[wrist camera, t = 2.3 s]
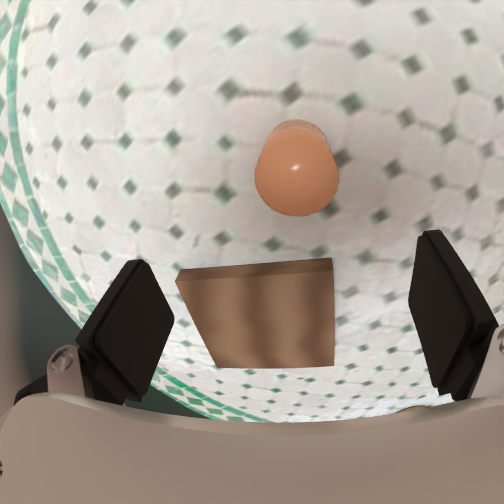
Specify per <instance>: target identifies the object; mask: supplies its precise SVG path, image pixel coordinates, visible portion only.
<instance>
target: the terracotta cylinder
mask: <svg viewBox="0 0 504 504" xmlns="http://www.w3.org/2000/svg"><path fill="white" fill-rule="evenodd" d="M338 181H339V175H338V169H337V166H336V163H335V161H334V158H333V156H332V153H331V151H330V148H329V146H328V144H327V141H326V139H325V137H324V135H323V133H322V132H321V131H320V130H319V129H318V128H317V127H316V126H315V125H313V124H311V123H309V122H307V121H303V120H289V121H285V122H283V123H281V124H279V125H278V126H276V127H275V128H274V129H273V130H272V132H271V133H270V135H269V137H268V139H267V141H266V144H265V146H264V148H263V151H262V153H261V156H260V158H259V160H258V163H257V165H256V169H255V184H256V188H257V191H258V193H259V195H260V196H261V198H262V199H263V201H264V202H265V203H266V204H267V205H268V206H269V207H271V208H272V209H274V210H275V211H277V212H279V213H282V214H285V215H289V216H307V215H310V214H313V213H316V212H318V211H320V210H321V209H323V208H324V207H325V206H326V205H327V204H329V202H330V201H331V200H332V199H333V197H334V195H335V193H336V191H337V187H338Z"/></svg>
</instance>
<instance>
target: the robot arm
mask: <svg viewBox="0 0 504 504" xmlns="http://www.w3.org/2000/svg"><path fill="white" fill-rule="evenodd" d="M408 304H409V308H410V311H411V314H412V317H413V320H414V323H415V326H416V329H417V332H418V336H419V339H420V342H421V345H422V349H423V352H424V356H425V359H426V363H427V367H428V370H429V374H430V378H431V382H432V385H433V387H434V388H438V392H439V396H440V395H444V394H448V393H451V396H452V399H453V402H452V403H447V404H442V405H438V406H433V407H429V408H424V409H418V410H413V411H407V412H401V413H395V414H388V415H382V416H375V417H367V418H358V419H349V420H337V421H322V422H297V423H261V422H237V421H222V420H210V419H200V418H192V417H184V416H176V415H169V414H163V413H157V412H150V411H145V410H140V409H135V408H130V407H126V405H125V402H124V401H125V398H127V399H128V400H131V401H136V402H141V399H142V397H143V395H145V394H146V393H147V391H148V388H149V385H150V383H151V380H152V377H153V375H154V372H155V370H156V367H157V364H158V362H159V359H160V357H161V354H162V352H163V349H164V347H165V344H166V342H167V339H168V337H169V334H170V332H171V329H172V327H173V324H174V314H173V312H172V310H171V308H170V306H169V304H168V302H167V300H166V298H165V296H164V294H163V292H162V290H161V288H160V286H159V284H158V282H157V280H156V278H155V276H154V274H153V272H152V270H151V267H150V266H149V264H148V263H146V262H145V261H144V260H142V259H138V260H130V261H127V262H126V264H125V265H124V266H123V268H122V269H121V271H120V272H119V274H118V275H117V276H116V278H115V279H114V281H113V282H112V284H111V285H110V287H109V288H108V290H107V291H106V292H105V294H104V295H103V297H102V298H101V300H100V302H99V303H98V305H97V306H96V308H95V309H94V311H93V312H92V314H91V315H90V317H89V319H88V320H87V322H86V323H85V325H84V327H83V328H82V330H81V331H80V333H79V335H78V337H77V338H76V340H75V341H76V342H77V344H78V345H79V346H80V348H79V349H78V350H77V348H75V347H74V346H72V345H66V346H63V347H61V348H60V349H58V350H56V351H55V352H54V353H53V355H52V356H51V358H50V359H49V362H48V365H47V374H45V375H44V376H42V377H41V378H39V379H37V380H36V381H34V382H32V383H31V384H29V385H27V386H26V387H24V388H23V389H21V390H20V391H19V392H18V393H17V395H16V397H15V402H14V407H11V408H10V409H9V410H8V411H7V412H6V413H5V414H4V415H3V416H2V418H0V504H504V324H502V325H500V326H499V325H498V323H497V321H496V319H495V317H494V315H493V313H492V311H491V309H490V307H489V305H488V304H487V302H486V300H485V298H484V296H483V295H482V293H481V291H480V289H479V288H478V286H477V284H476V283H475V281H474V279H473V278H472V276H471V274H470V273H469V271H468V270H467V268H466V267H465V265H464V264H463V262H462V261H461V259H460V258H459V256H458V255H457V253H456V252H455V250H454V249H453V247H452V246H451V244H450V243H449V241H448V240H447V238H446V237H445V236H444V234H443V233H442V231H440V230H429V231H424V232H423V234H422V236H419V237H418V240H417V248H416V255H415V262H414V269H413V275H412V281H411V286H410V292H409V297H408Z"/></svg>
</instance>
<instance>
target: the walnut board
mask: <svg viewBox="0 0 504 504" xmlns="http://www.w3.org/2000/svg"><path fill="white" fill-rule="evenodd" d="M175 283H176V285H177V287H178V289H179V291H180V294H181V296H182V298H183V300H184V302H185V304H186V306H187V309H188V311H189V313H190V315H191V317H192V319H193V321H194V323H195V325H196V327H197V329H198V331H199V333H200V335H201V337H202V339H203V341H204V343H205V345H206V347H207V349H208V351H209V353H210V355H211V357H212V359H213V361H214V362H215V364H216V366H217V368H307V367H325V366H334V345H335V319H334V277H333V265H332V258H323V259H312V260H300V261H288V262H275V263H263V264H250V265H237V266H224V267H211V268H197V269H183V270H181V271H180V273H179V274H178V276H177V278H176V280H175Z"/></svg>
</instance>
